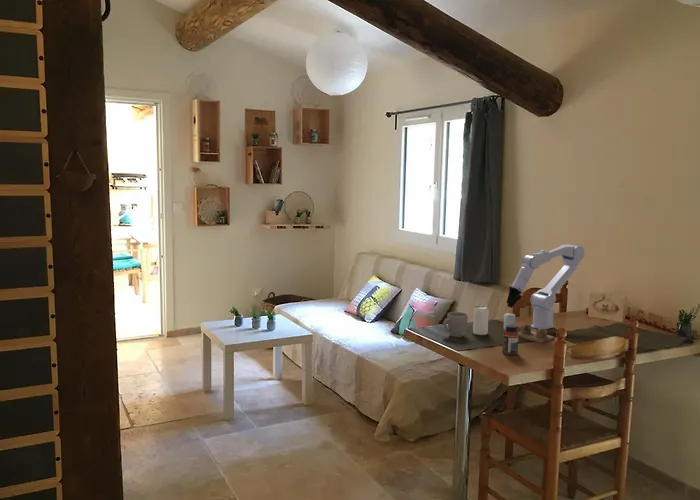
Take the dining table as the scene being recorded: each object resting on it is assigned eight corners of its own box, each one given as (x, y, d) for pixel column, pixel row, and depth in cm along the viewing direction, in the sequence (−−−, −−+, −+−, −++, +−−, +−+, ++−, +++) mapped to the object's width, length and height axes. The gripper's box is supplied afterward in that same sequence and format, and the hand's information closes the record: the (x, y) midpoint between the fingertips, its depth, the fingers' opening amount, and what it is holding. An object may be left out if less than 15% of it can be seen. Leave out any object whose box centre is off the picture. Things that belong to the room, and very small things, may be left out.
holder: (526, 332, 273) (526, 322, 273) (553, 339, 263) (554, 328, 262) (512, 335, 267) (513, 325, 267) (540, 342, 256) (541, 332, 256)
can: (487, 335, 266) (489, 309, 265) (472, 334, 268) (474, 308, 266) (487, 332, 273) (488, 306, 271) (472, 331, 274) (474, 305, 272)
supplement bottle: (500, 351, 243) (501, 323, 241) (514, 351, 243) (516, 323, 242) (505, 355, 237) (506, 327, 235) (519, 355, 237) (521, 327, 236)
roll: (507, 327, 282) (508, 313, 281) (516, 329, 278) (517, 315, 277) (501, 329, 279) (502, 314, 278) (510, 331, 275) (511, 316, 274)
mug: (457, 332, 272) (458, 311, 271) (471, 336, 264) (472, 315, 263) (436, 335, 266) (437, 313, 265) (449, 340, 258) (450, 317, 257)
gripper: (514, 279, 284) (501, 304, 282) (513, 271, 271) (500, 298, 269) (528, 285, 281) (515, 311, 280) (528, 278, 268) (514, 305, 266)
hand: (509, 305), depth 274 cm, fingers open, 7 cm apart
